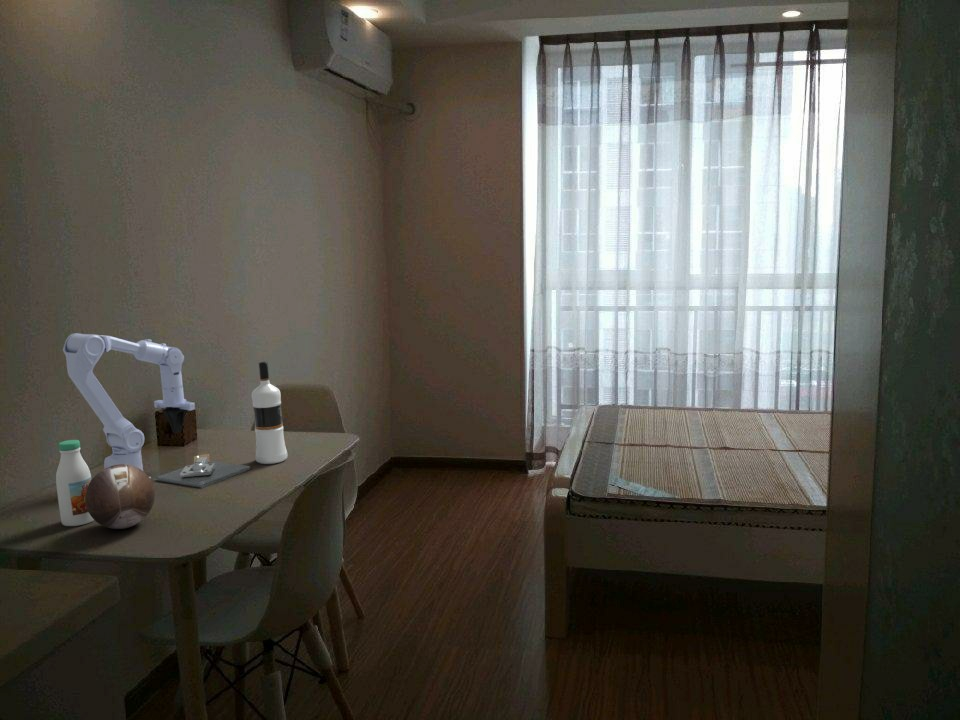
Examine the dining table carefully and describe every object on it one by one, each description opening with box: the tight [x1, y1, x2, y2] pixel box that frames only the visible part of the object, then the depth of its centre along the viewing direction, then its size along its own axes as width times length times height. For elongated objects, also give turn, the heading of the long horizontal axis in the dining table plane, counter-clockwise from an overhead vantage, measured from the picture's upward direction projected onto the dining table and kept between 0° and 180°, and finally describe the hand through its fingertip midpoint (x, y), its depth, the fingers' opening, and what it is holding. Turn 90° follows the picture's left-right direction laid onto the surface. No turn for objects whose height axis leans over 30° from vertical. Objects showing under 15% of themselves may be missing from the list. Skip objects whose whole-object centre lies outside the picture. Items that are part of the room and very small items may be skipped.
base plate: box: [155, 455, 251, 489], centre depth 233 cm, size 18×18×4 cm
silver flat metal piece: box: [180, 453, 215, 477], centre depth 235 cm, size 15×8×2 cm, turn 8°
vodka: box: [250, 361, 289, 465], centre depth 242 cm, size 9×9×30 cm
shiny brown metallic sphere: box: [85, 464, 156, 530], centre depth 192 cm, size 15×15×15 cm
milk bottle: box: [55, 439, 95, 527], centre depth 197 cm, size 8×8×20 cm
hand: (177, 432), depth 241 cm, fingers closed
